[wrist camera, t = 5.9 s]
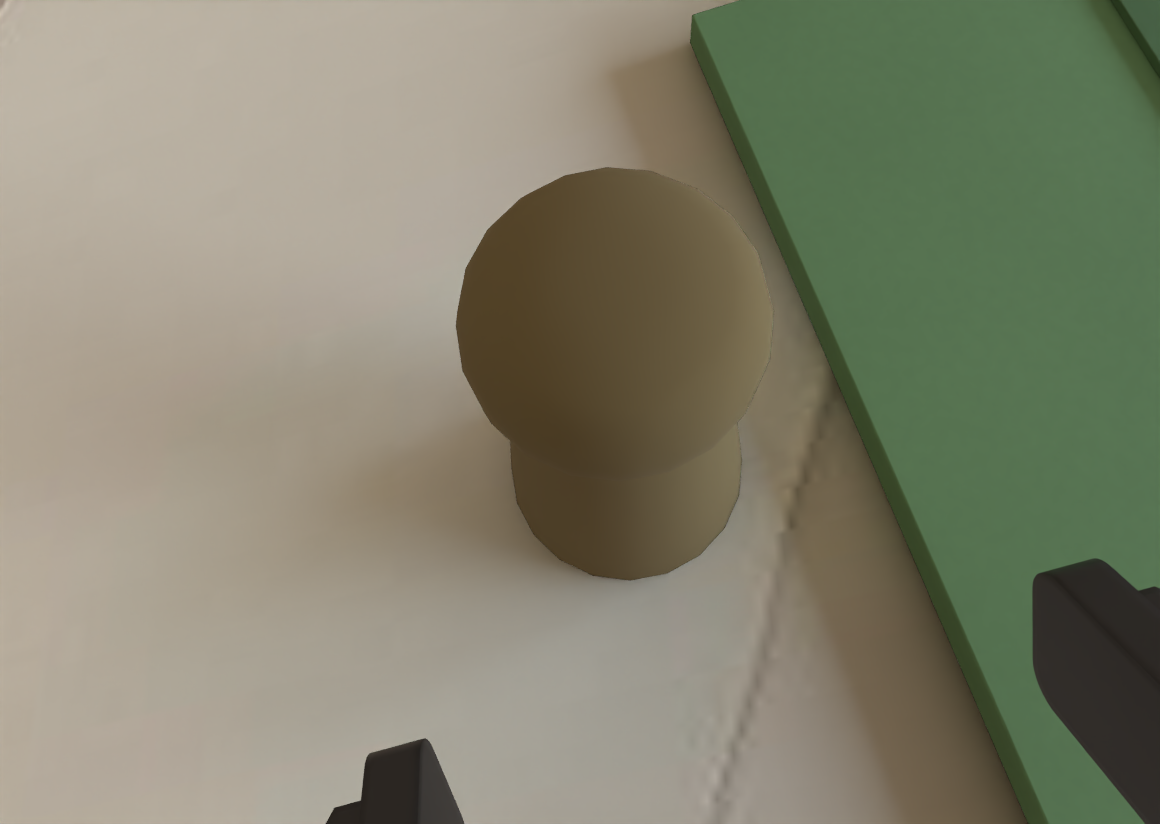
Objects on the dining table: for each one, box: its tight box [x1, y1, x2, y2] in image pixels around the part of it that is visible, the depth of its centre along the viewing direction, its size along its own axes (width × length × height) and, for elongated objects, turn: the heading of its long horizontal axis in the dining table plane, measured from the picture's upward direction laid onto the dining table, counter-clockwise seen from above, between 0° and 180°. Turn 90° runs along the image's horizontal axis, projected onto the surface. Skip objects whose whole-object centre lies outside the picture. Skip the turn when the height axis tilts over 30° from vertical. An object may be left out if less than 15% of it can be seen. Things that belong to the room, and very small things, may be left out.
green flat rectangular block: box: [690, 0, 1160, 824], centre depth 24 cm, size 24×13×2 cm, turn 17°
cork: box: [456, 167, 774, 580], centre depth 19 cm, size 6×6×11 cm
